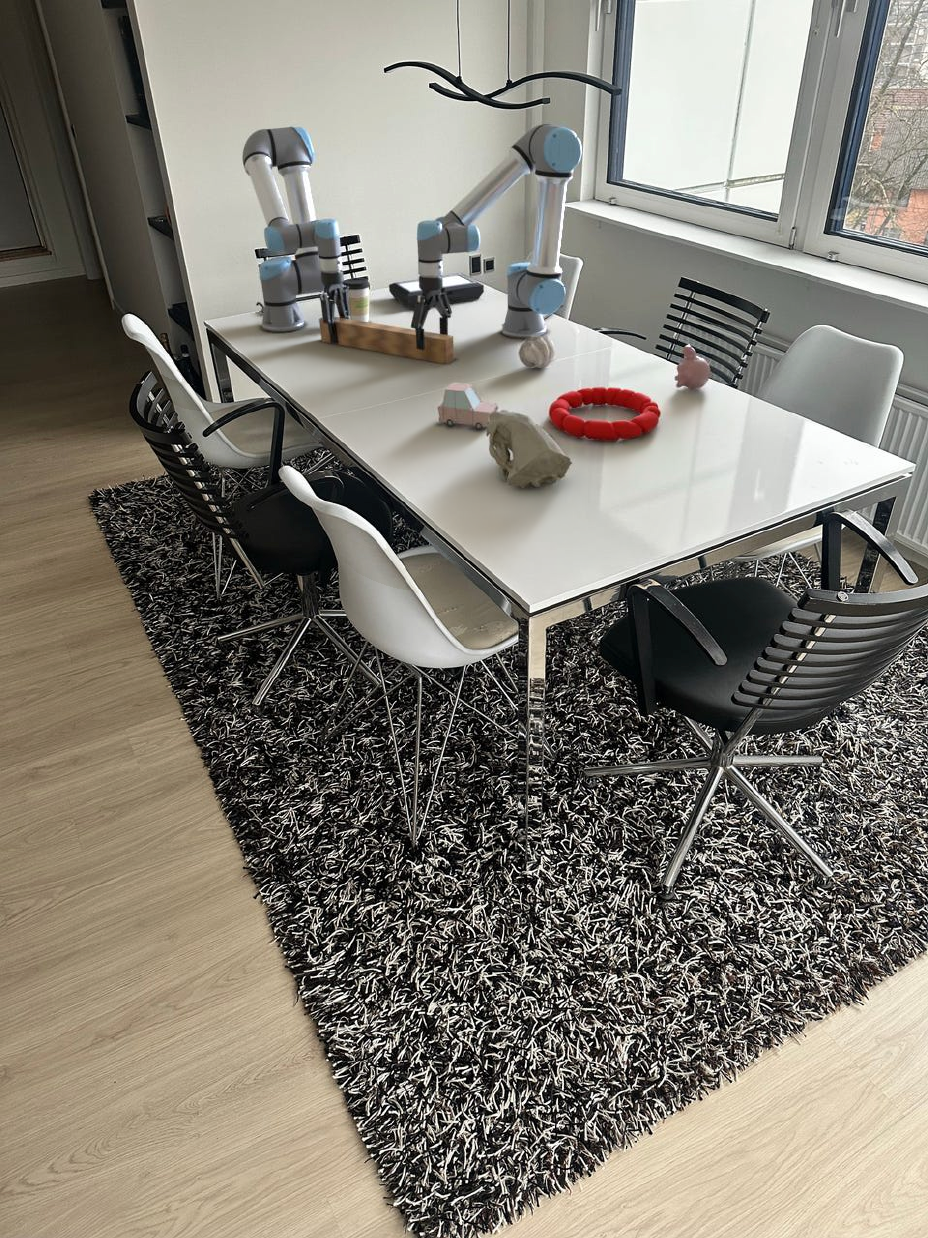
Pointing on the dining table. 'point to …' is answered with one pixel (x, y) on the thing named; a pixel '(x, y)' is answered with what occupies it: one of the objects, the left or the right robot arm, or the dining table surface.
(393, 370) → the dining table surface
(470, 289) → the electronic device
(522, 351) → the seashell
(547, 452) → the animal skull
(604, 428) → the decorative ring
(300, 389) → the dining table surface
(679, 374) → the figurine
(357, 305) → the coffee cup
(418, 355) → the bar
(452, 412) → the toy car
